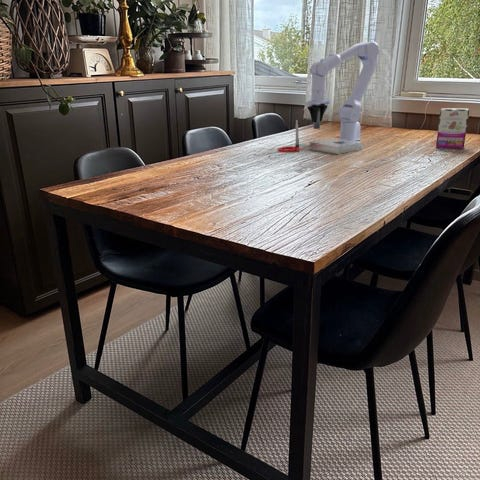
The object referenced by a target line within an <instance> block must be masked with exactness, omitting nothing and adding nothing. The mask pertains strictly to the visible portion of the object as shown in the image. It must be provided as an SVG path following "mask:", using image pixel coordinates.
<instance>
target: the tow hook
mask: <svg viewBox="0 0 480 480" xmlns="http://www.w3.org/2000/svg"><path fill="white" fill-rule="evenodd" d="M298 121H299V120H298V119H296V120H295V146H291V145H290V146H281V147H278V148H277V151H278V152H281V153H289V152H300V138H299V137H300V136H299V124H298Z"/></svg>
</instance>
